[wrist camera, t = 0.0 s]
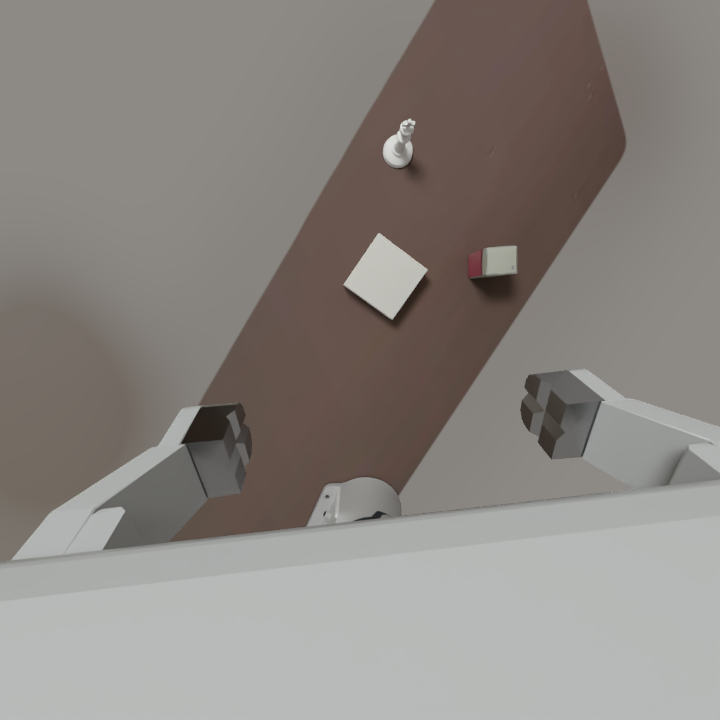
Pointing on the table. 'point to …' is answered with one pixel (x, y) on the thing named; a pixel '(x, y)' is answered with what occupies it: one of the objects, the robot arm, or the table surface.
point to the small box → (493, 262)
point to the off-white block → (385, 276)
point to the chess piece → (399, 146)
